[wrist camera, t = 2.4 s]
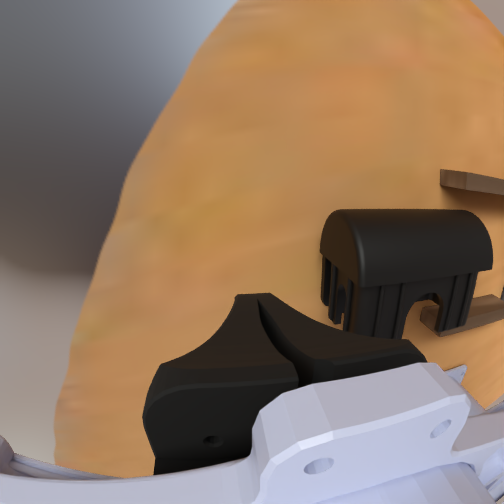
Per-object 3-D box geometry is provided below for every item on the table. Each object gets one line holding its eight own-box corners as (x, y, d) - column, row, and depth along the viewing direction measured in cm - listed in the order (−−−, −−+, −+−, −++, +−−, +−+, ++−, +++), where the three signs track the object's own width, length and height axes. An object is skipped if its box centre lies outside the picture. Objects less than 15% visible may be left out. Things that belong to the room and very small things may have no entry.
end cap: (436, 201, 20) (501, 220, 14) (426, 289, 22) (479, 326, 16) (316, 201, 19) (364, 221, 13) (313, 304, 21) (349, 359, 15)
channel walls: (489, 305, 24) (508, 317, 21) (419, 320, 23) (439, 337, 20) (509, 182, 20) (532, 186, 17) (440, 169, 19) (466, 172, 16)
